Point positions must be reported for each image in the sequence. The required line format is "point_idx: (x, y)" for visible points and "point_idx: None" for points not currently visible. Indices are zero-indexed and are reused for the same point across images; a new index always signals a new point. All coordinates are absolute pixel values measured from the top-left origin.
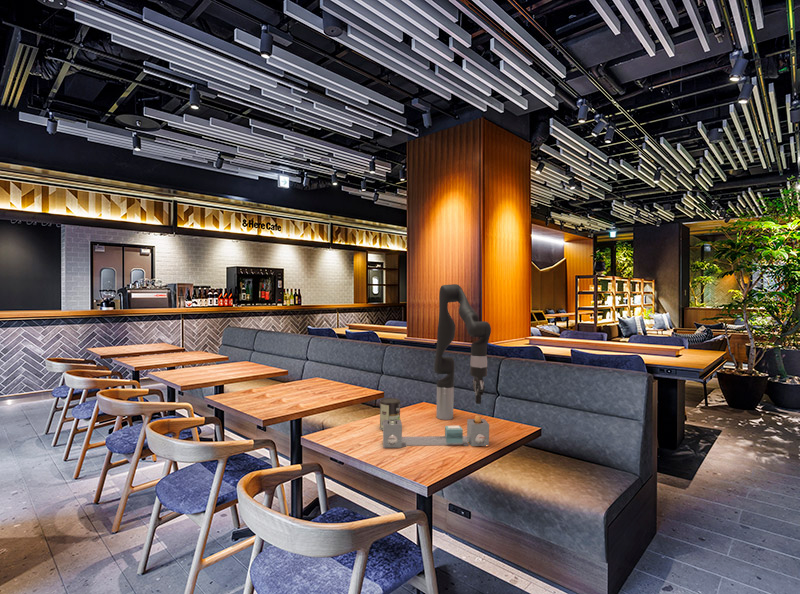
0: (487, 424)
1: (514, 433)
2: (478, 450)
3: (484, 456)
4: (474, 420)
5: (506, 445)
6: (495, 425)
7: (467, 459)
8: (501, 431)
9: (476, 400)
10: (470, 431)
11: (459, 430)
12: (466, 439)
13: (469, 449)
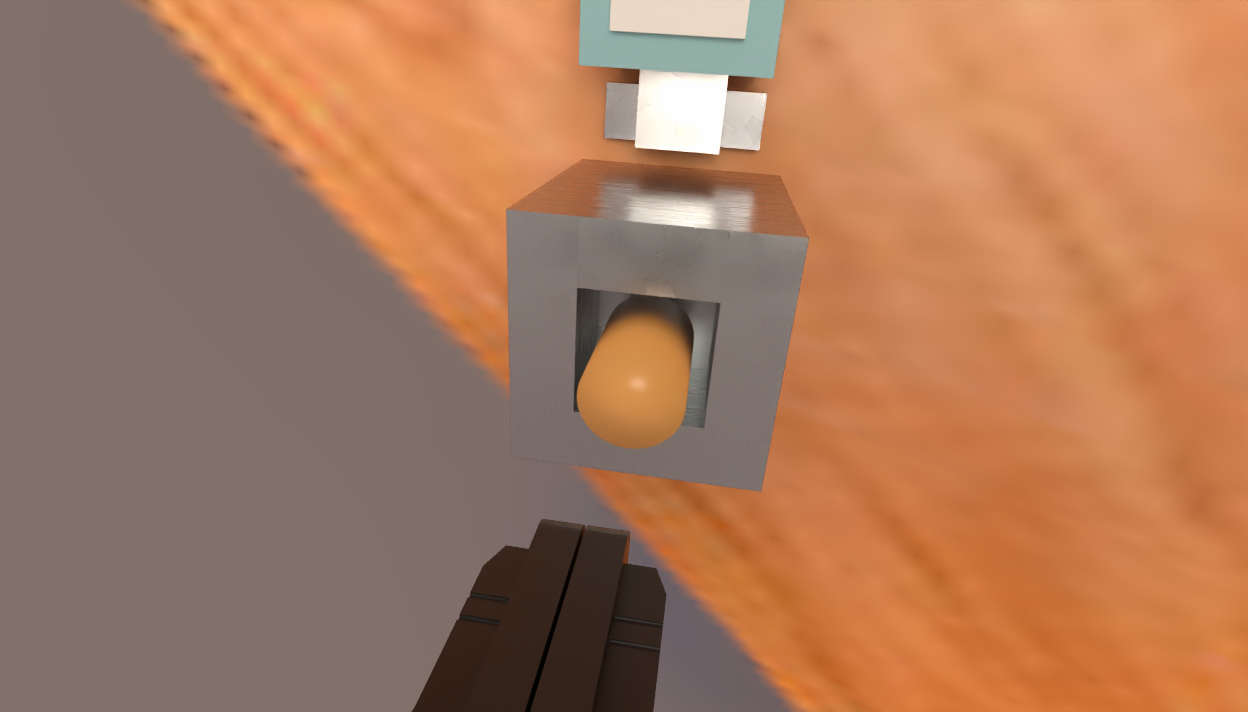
0: (511, 435)
1: (868, 661)
2: (485, 203)
3: (342, 207)
4: (717, 331)
5: (595, 487)
6: (1155, 626)
7: (249, 4)
8: (955, 598)
9: (522, 578)
10: (590, 189)
11: (584, 7)
12: (637, 129)
13: (513, 115)
